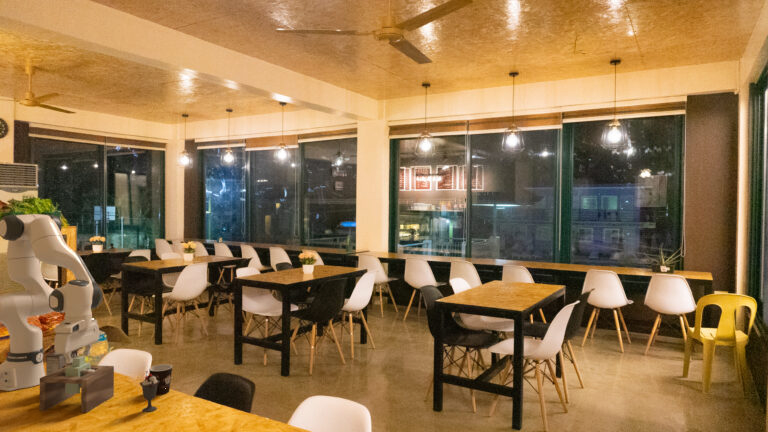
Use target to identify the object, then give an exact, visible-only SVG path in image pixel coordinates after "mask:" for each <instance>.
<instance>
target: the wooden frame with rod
mask: <svg viewBox="0 0 768 432" xmlns="http://www.w3.org/2000/svg"><path fill="white" fill-rule="evenodd" d="M69 366H71V365H68V366H66V367H64V368H62V369H59V370H57V371H55V372H53V373H50V374H48V375H46V374H45V375H46V376H44V377H41V378H40V384H39V411H40V412H45V411H47V410H49V409H51V408H53V407H54V406H57V405H59V404H61V403H62V402H64V401H66V400H68V399H70V398H72V397H73V396H76V394H71V393H65V383H71V384H81V388H80V393H81V394H80V395H81V396H80V399H81V400H80V407H81V409H80V412H81V413H83V414H84V413H86V414H87V413H88V412H90V411H92V410H93V409H95V408H97V407H98V406H100V405H101V404H104V403H105V402H107V401H108V400H110V399H112V398H113V397H114V396H115V395H114V394H115V384H114V383H115V382H114V381H115V366H114V365H96V364H95V365H93V364H91V370H88V369H85V370H83V371H80V375H84V376H82V377H73V376H66V368H67V367H69ZM81 413H80V414H81Z"/></svg>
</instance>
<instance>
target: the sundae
mask: <svg viewBox="0 0 768 432" xmlns="http://www.w3.org/2000/svg"><path fill="white" fill-rule="evenodd" d="M145 373H146V375H145V377H144V379H143V380H142V382H140V383H139V385H140V386H141V390H142V396H143V398H144V399H145V400H146V401H147V406H146V407H143V408H142V410H141V411H142V413H151V412H156V410H157V409H158V408H157V407H156V406H155V405H154V406H153V405H152V401H153V400H154V399H155V398H156V396H157V395H156V390H157V384H158V383H159V382H160V381H159V380H158V378H159V377H158V376H157V375H155V376H154V375H152V374H150V372H149V371H148V370H147V371H145Z"/></svg>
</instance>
